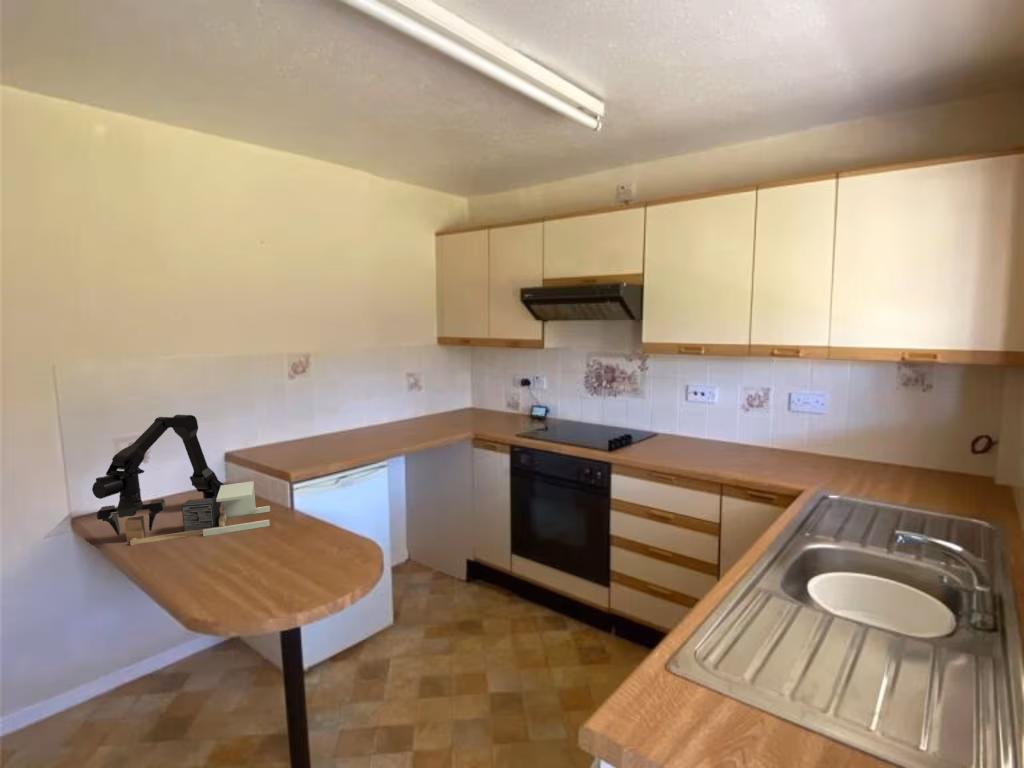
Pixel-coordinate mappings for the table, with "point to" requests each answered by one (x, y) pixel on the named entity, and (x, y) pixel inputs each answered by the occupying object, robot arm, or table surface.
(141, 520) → the wooden block with bar
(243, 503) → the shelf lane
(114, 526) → the robot arm
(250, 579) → the table surface
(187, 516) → the small box
